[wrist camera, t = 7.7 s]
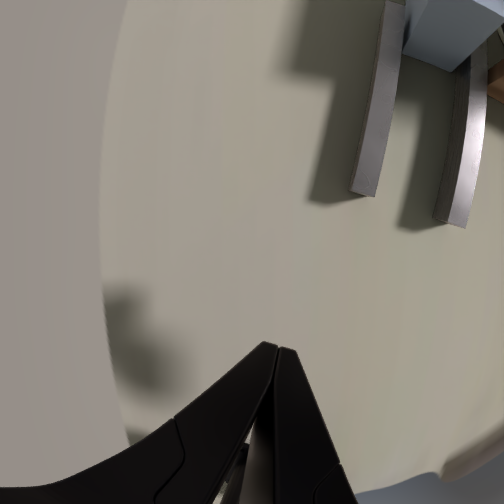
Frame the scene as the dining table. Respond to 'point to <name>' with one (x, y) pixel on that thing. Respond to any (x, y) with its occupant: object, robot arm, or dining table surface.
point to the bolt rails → (462, 127)
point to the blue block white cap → (448, 29)
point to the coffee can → (501, 32)
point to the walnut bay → (496, 82)
